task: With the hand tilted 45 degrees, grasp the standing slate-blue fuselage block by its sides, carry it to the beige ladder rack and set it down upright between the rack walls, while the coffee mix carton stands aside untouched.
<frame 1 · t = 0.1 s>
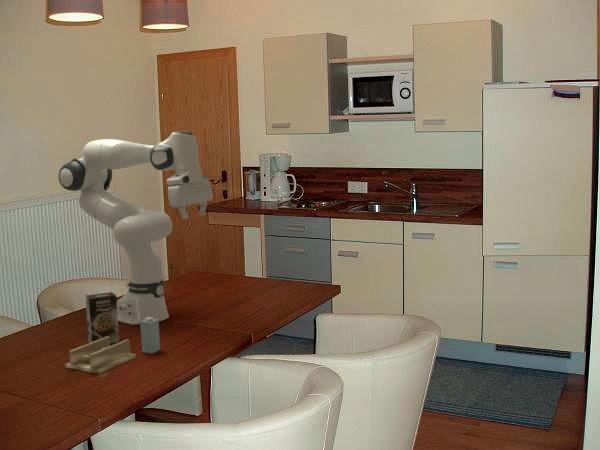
hand: (194, 217, 260), 39 cm above the table, tool pointing down, fingers open, 8 cm apart
coffee box: (104, 342, 250), on the table
beige ladder rack: (101, 362, 229), on the table
fuselage block: (151, 350, 239), on the table
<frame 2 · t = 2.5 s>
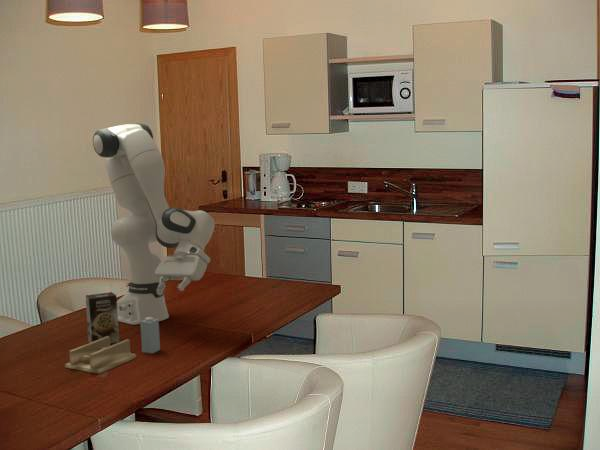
hand: (170, 289, 247), 17 cm above the table, tool tilted 45°, fingers open, 8 cm apart
nothing on the table moved.
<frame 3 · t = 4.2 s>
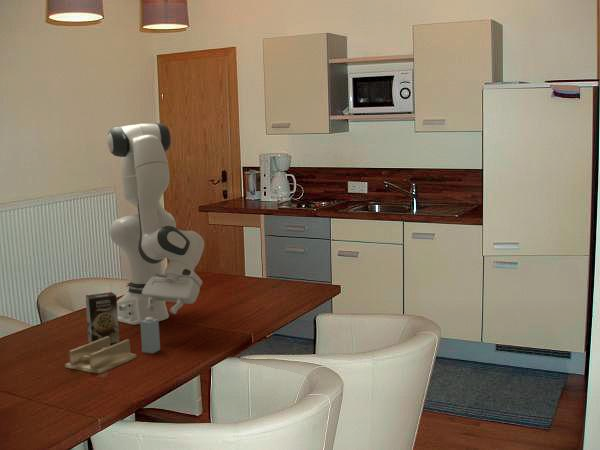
hand: (160, 311, 241), 12 cm above the table, tool tilted 45°, fingers open, 8 cm apart
nothing on the table moved.
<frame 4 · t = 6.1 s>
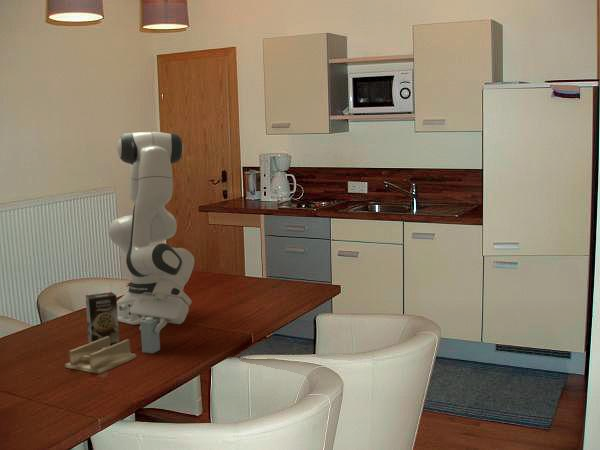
hand: (148, 331, 237), 7 cm above the table, tool tilted 45°, fingers closed on fuselage block, 4 cm apart
fuselage block: (151, 350, 239), on the table, touching gripper
everything else where it was.
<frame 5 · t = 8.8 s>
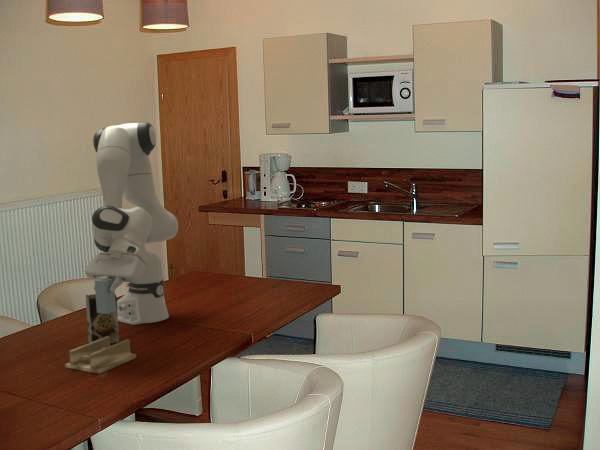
hand: (103, 291, 227), 22 cm above the table, tool tilted 45°, fingers closed on fuselage block, 4 cm apart
fuselage block: (106, 311, 228), point 16 cm above the table, touching gripper
everything else where it was.
when the fingers open (9 cm above the table, at t = 11.8 s): fuselage block stays where it is, resting on beige ladder rack.
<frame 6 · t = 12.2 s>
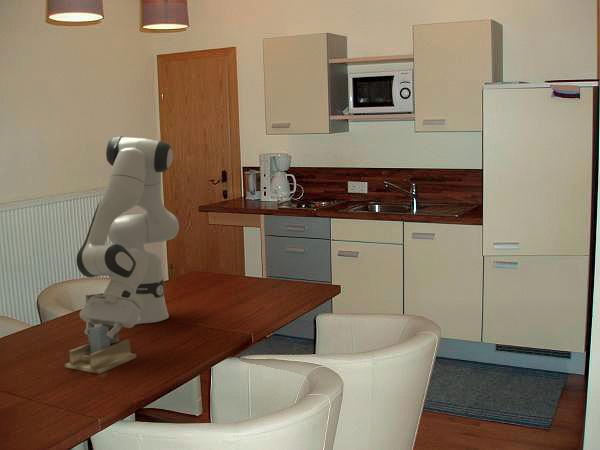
hand: (97, 335, 228), 9 cm above the table, tool tilted 45°, fingers open, 7 cm apart
fuselage block: (101, 359, 229), point 1 cm above the table, touching beige ladder rack
everything else where it was.
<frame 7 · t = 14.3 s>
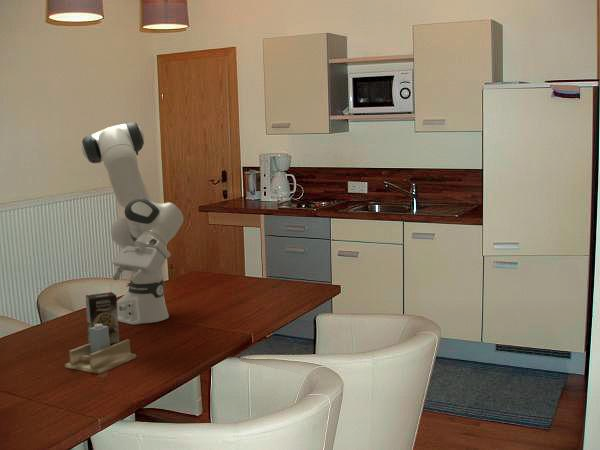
hand: (123, 280, 232), 24 cm above the table, tool tilted 50°, fingers open, 8 cm apart
nothing on the table moved.
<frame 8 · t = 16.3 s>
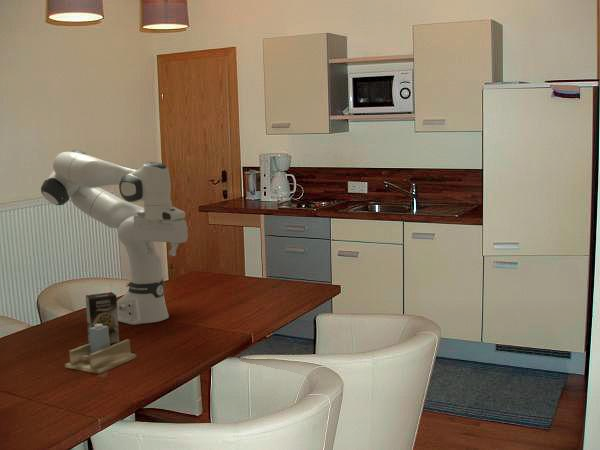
hand: (161, 254, 244), 29 cm above the table, tool pointing down, fingers open, 8 cm apart
nothing on the table moved.
at the end: fuselage block inside the target area on the beige ladder rack (0.1 cm from its centre), point 1.0 cm above the beige ladder rack's base; fuselage block tilted 0°; the gripper is holding nothing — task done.
